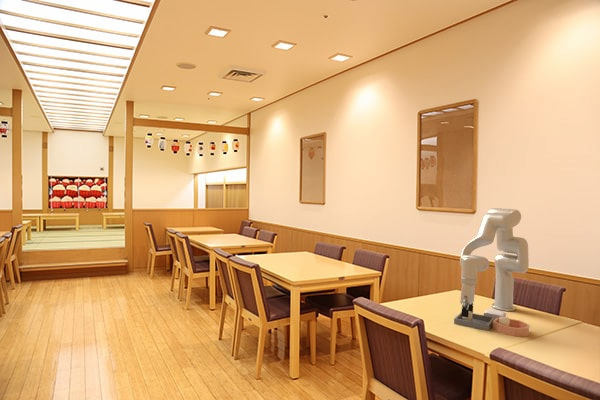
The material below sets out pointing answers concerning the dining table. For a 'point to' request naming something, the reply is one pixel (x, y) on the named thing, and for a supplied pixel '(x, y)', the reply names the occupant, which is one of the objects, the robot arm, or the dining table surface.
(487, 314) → the charger
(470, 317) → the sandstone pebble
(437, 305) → the dining table surface
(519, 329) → the bowl
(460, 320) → the parts tray
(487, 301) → the dining table surface
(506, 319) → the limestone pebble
